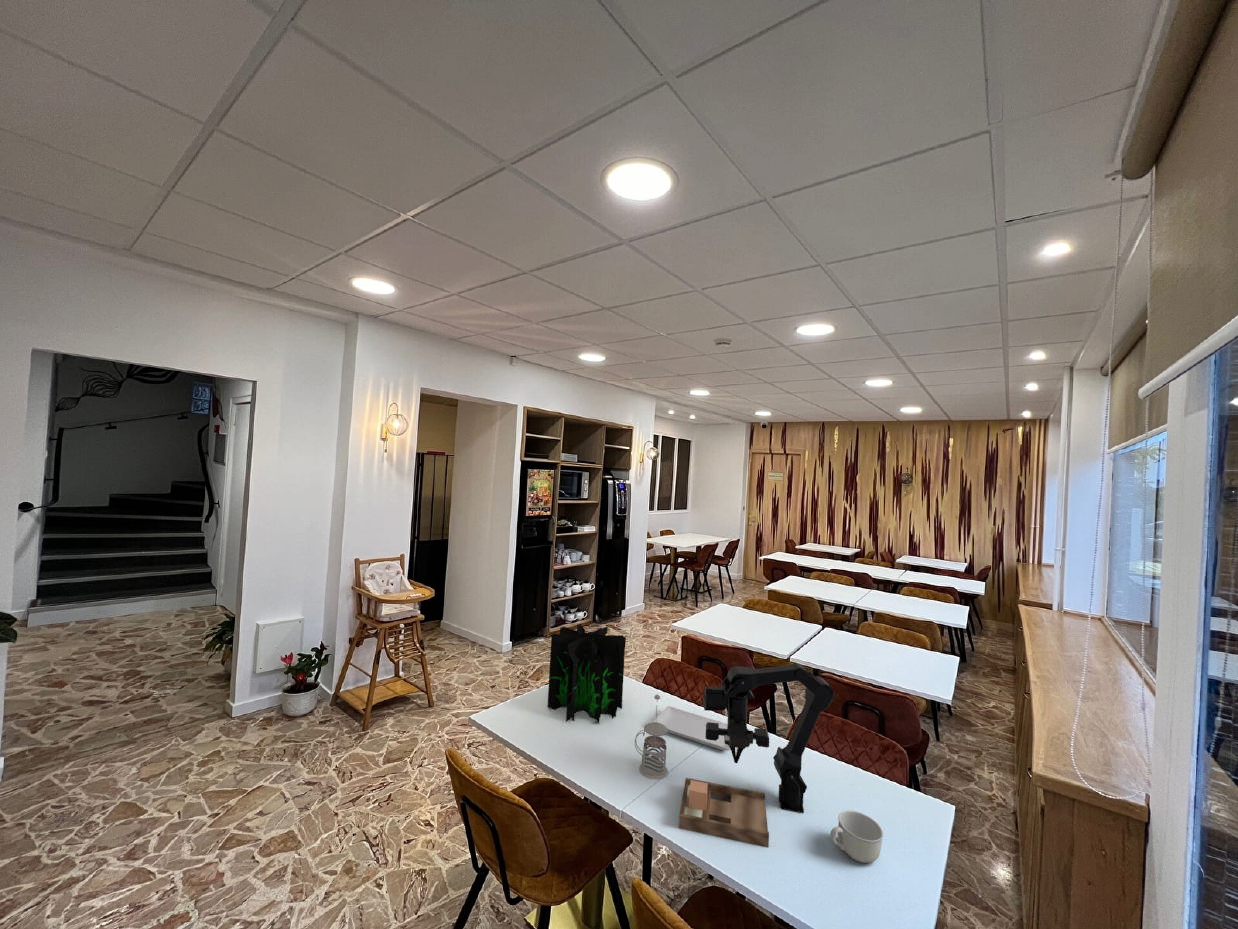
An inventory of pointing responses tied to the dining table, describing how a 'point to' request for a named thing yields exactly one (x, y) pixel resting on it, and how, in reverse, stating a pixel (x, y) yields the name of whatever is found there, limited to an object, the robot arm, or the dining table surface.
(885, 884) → the dining table surface
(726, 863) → the dining table surface
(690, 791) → the block
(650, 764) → the french press
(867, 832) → the teacup
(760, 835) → the box
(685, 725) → the tray
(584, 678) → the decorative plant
